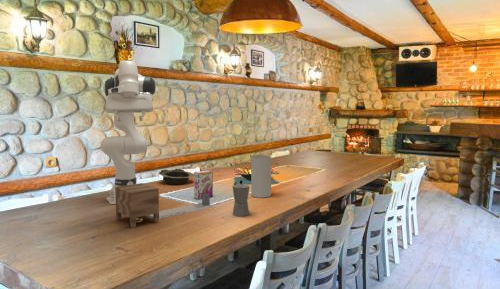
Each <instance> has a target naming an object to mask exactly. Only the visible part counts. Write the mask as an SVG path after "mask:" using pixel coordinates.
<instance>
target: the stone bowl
mask: <svg viewBox="0 0 500 289" xmlns="http://www.w3.org/2000/svg"><path fill="white" fill-rule="evenodd" d="M158 174H159V175H161V176H162V177H163V178H162V179H163V181H164V183H165V185H183V184H186V182H187V183H188V180H189V179H190V178H192V177H194V172H193V173H192V172H191V171H186V170H184V169H181V168H175V169H170V170H169V169H162V170H160V171H159V172H158Z"/></svg>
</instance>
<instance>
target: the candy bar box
mask: <svg viewBox="0 0 500 289" xmlns="http://www.w3.org/2000/svg"><path fill="white" fill-rule="evenodd" d="M213 172H214V171H213V170H210V169H209V170H202V171H201V170H200V171H194V172H193V175H194V176H193V178H194V179H193V180H194V181H193V184H194V185H193V187H194V189H193V192H194V193H193V197H194V199H196V200H202V194H206V193H207V194H210V198H212V197H213V196H214V195H213V191H214V190H213V188H214V186H213V183H214V182H213V181H214V180H213V179H214V178H213V176H214V173H213Z"/></svg>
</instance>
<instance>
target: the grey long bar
mask: <svg viewBox="0 0 500 289" xmlns="http://www.w3.org/2000/svg"><path fill="white" fill-rule="evenodd" d="M210 201H211V197H210V194H207V193H206V194H202V199H201V202H198V203H194V204H189V205H184V206H179V207H175V208H170V209H169V208H168V209H165V210H159V220H161V219H165V218H169V217H174V216H178V215H179V216H180V215H184V214H188V212H189V213H193V212H198V211H201V210H206V209H211V208H213V207H212V204H210V203H211V202H210ZM146 217H148V218H149V219H152V220H153V214H152V215H147V216H146Z"/></svg>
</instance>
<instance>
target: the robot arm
mask: <svg viewBox="0 0 500 289" xmlns="http://www.w3.org/2000/svg"><path fill="white" fill-rule="evenodd" d="M138 70H139V69H138V66H137V63H136V62H135V61H133V60H130V59H128V60H127V59H125V60H121V61H120V62H119V64H118V68H117V69H116V70H115V72H114V75H113V76H110V78H108V79H106V80H105V81H104V83H103V87H102V88H103V89H102V90H103V92H104V95H105V96H106V98H105V112H106V113H108V114H113V123H114V126H115V128H116V129H117V130H119V131H121V132H124V134H125V135H113V136H106V137H104V138H103V139H102V140H101V143H100V149H101V151H102V153H103V154H104V155H106V156H108V157H109V158H110V159H111V161H112V163H113V165H114V171H115V179H114V185H113V186H112V187H111V189H110V190H109V191H108V195H109V196H107V197H106V201H108V202H109V204H110V205H116V201H115V187H118V186H125V185H132V184H137V177H136V165H135V163H134V162H133V161H131V160H129V159H127V158H125V156H127V155H139V154H144V153H145V152H146V151H147V150H148V146H149V145H148V140H147V139H146V138H145V136H143V135H142V134H140V132H139V131H138V130H137V128H136V124H135V116H134V115H135V113H141V115H140V116H138V117H139V118H138V119H139V122H143V121H144V117H145V115H146V113H152V112H153V110H154V106H153V100H154V96H153V95H155V93H156V87H157V86H156V82H155V80H154V78H153V77H152V76H150V75H149V76H144V75H143V74H140V73H139V71H138Z"/></svg>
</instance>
